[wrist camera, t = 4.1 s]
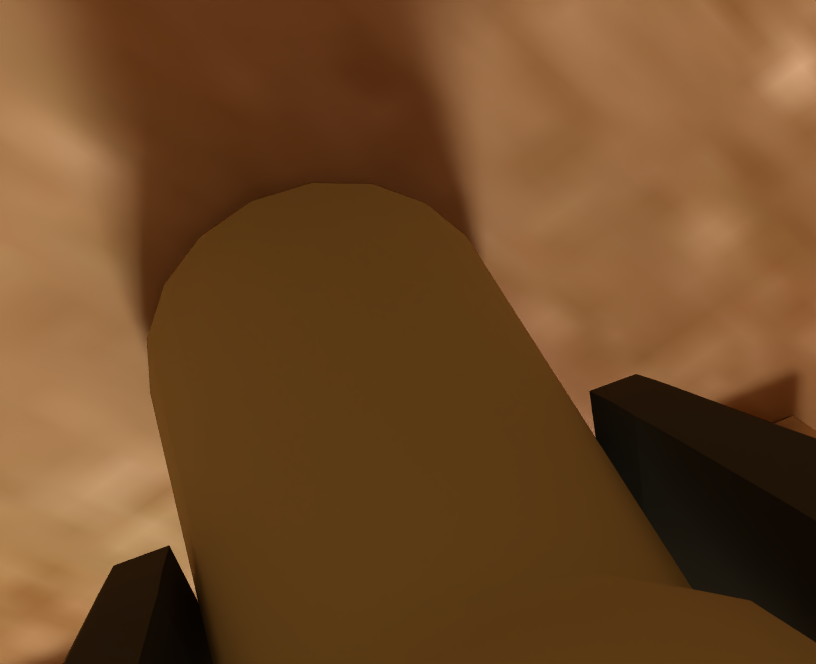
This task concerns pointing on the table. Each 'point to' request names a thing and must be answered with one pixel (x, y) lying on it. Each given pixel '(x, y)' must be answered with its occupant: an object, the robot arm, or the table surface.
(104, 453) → the table surface
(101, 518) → the table surface
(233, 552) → the cork
